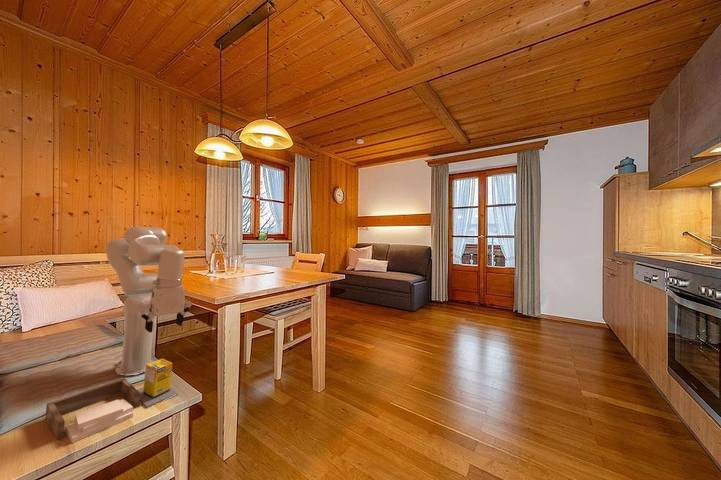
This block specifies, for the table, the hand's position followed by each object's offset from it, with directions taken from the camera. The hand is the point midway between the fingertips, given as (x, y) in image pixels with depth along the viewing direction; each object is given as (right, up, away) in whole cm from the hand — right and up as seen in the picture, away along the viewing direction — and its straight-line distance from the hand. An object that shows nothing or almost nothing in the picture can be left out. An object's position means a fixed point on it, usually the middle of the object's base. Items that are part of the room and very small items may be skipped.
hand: (164, 327), depth 102 cm
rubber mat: (-4, -24, 0) cm, 25 cm away
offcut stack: (-9, -25, -16) cm, 31 cm away
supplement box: (-3, -24, 0) cm, 24 cm away
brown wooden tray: (-14, -24, -12) cm, 30 cm away
